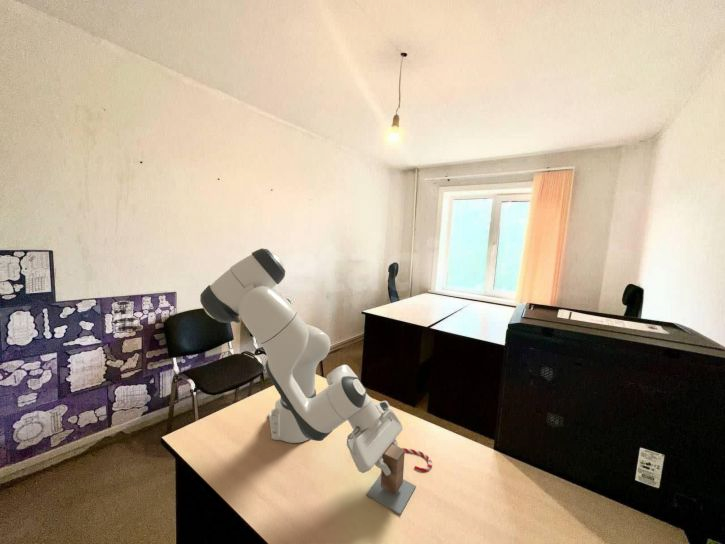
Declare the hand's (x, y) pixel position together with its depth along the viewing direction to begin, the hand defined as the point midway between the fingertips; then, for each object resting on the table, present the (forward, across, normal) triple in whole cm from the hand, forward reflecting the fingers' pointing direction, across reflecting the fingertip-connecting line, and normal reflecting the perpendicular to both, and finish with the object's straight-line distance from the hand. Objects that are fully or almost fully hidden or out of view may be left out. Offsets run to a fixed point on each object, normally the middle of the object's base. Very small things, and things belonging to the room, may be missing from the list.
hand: (394, 466), depth 78 cm
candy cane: (+5, +14, +7) cm, 17 cm away
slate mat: (+5, 0, +6) cm, 8 cm away
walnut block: (+4, 0, +5) cm, 6 cm away
